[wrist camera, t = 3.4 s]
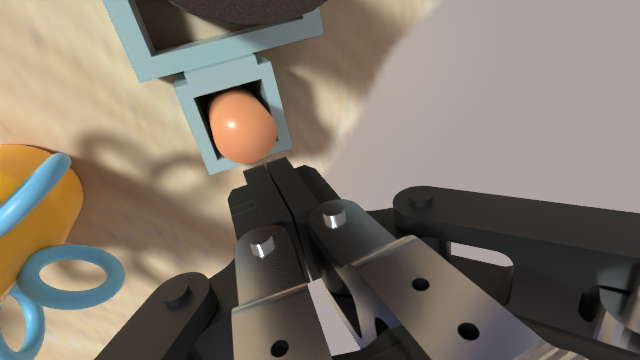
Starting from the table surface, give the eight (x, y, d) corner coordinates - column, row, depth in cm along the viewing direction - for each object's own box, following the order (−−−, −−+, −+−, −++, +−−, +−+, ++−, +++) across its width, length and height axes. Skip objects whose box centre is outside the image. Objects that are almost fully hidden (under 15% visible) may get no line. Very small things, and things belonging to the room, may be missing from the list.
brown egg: (199, 93, 19) (203, 114, 16) (251, 79, 20) (267, 95, 16) (217, 142, 21) (225, 171, 17) (265, 127, 21) (283, 152, 18)
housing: (42, -160, 15) (0, -210, 11) (264, -186, 17) (284, -235, 14) (182, 158, 22) (182, 184, 19) (323, 113, 25) (346, 130, 21)
